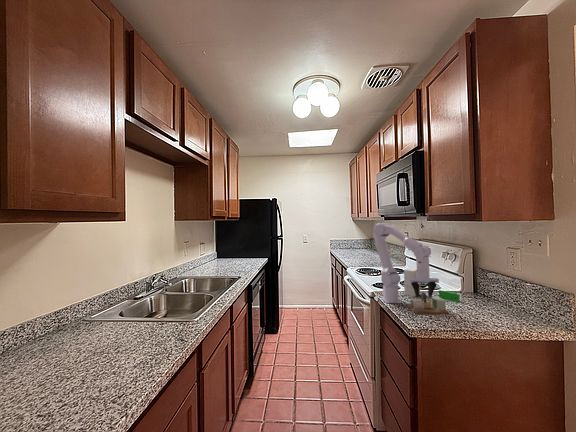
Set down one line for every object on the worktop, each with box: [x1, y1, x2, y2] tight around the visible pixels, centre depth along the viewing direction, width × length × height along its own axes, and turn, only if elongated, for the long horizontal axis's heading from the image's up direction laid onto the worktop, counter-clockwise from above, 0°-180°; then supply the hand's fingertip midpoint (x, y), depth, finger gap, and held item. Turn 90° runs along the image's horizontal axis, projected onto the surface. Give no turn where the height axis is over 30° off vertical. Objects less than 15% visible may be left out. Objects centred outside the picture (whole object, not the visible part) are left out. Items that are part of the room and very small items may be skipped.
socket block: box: [430, 296, 446, 310], centre depth 138 cm, size 7×4×5 cm, turn 178°
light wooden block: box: [412, 291, 431, 307], centre depth 138 cm, size 3×8×7 cm, turn 88°
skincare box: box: [403, 267, 421, 298], centre depth 166 cm, size 8×7×16 cm
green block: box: [438, 289, 461, 304], centre depth 154 cm, size 11×4×5 cm, turn 26°
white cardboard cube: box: [410, 298, 424, 309], centre depth 138 cm, size 4×5×4 cm
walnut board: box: [406, 303, 449, 315], centre depth 138 cm, size 12×15×1 cm
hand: (423, 297), depth 138 cm, fingers open, 6 cm apart
